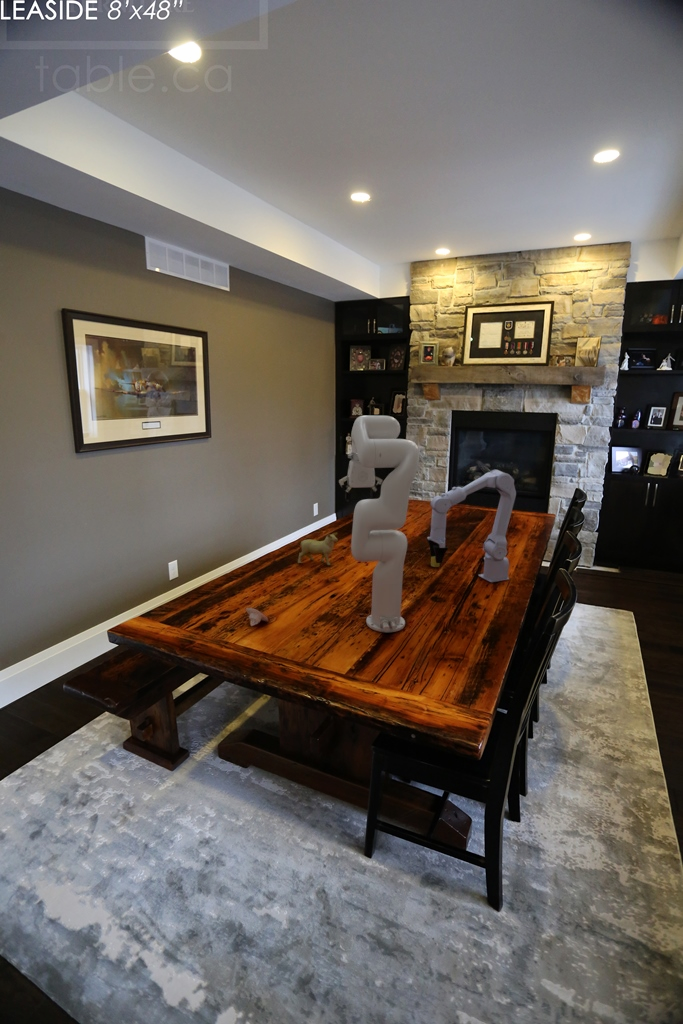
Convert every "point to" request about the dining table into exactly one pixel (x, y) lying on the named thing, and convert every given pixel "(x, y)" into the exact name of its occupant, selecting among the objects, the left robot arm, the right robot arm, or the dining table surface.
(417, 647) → the dining table surface
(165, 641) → the dining table surface
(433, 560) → the tin
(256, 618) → the seashell
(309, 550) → the toy
